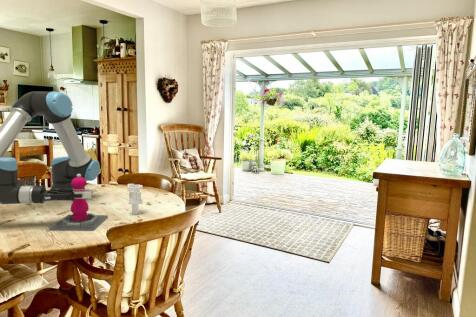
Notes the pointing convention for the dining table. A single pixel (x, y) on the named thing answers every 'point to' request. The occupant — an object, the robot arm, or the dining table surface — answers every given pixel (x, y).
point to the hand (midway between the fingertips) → (92, 193)
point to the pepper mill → (79, 205)
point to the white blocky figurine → (135, 197)
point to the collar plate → (79, 223)
